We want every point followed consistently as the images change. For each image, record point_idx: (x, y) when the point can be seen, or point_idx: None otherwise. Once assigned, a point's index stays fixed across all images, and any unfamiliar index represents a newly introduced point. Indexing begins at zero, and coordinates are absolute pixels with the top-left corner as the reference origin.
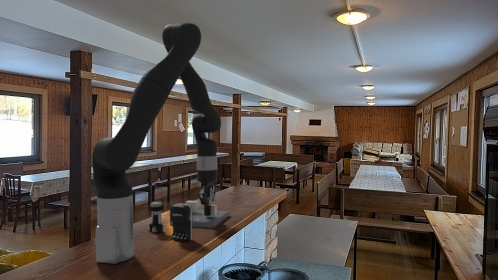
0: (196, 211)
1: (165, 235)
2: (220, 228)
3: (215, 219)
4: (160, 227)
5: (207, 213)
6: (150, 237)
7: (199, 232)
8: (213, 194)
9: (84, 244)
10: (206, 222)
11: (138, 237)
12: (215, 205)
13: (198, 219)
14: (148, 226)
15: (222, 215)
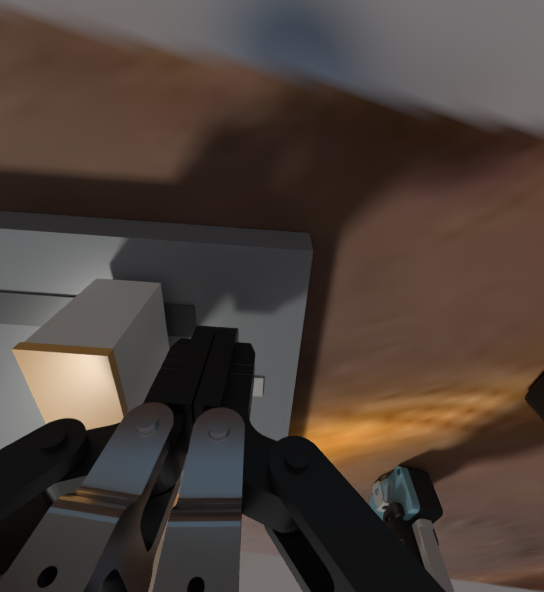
0: None
1: (468, 443)
2: (310, 168)
3: (200, 261)
4: (431, 498)
5: (254, 358)
6: (492, 481)
7: (427, 302)
8: (3, 579)
9: (535, 587)
10: (304, 310)
11: (482, 511)
12: (71, 355)
13: None
14: None
15: (29, 234)
